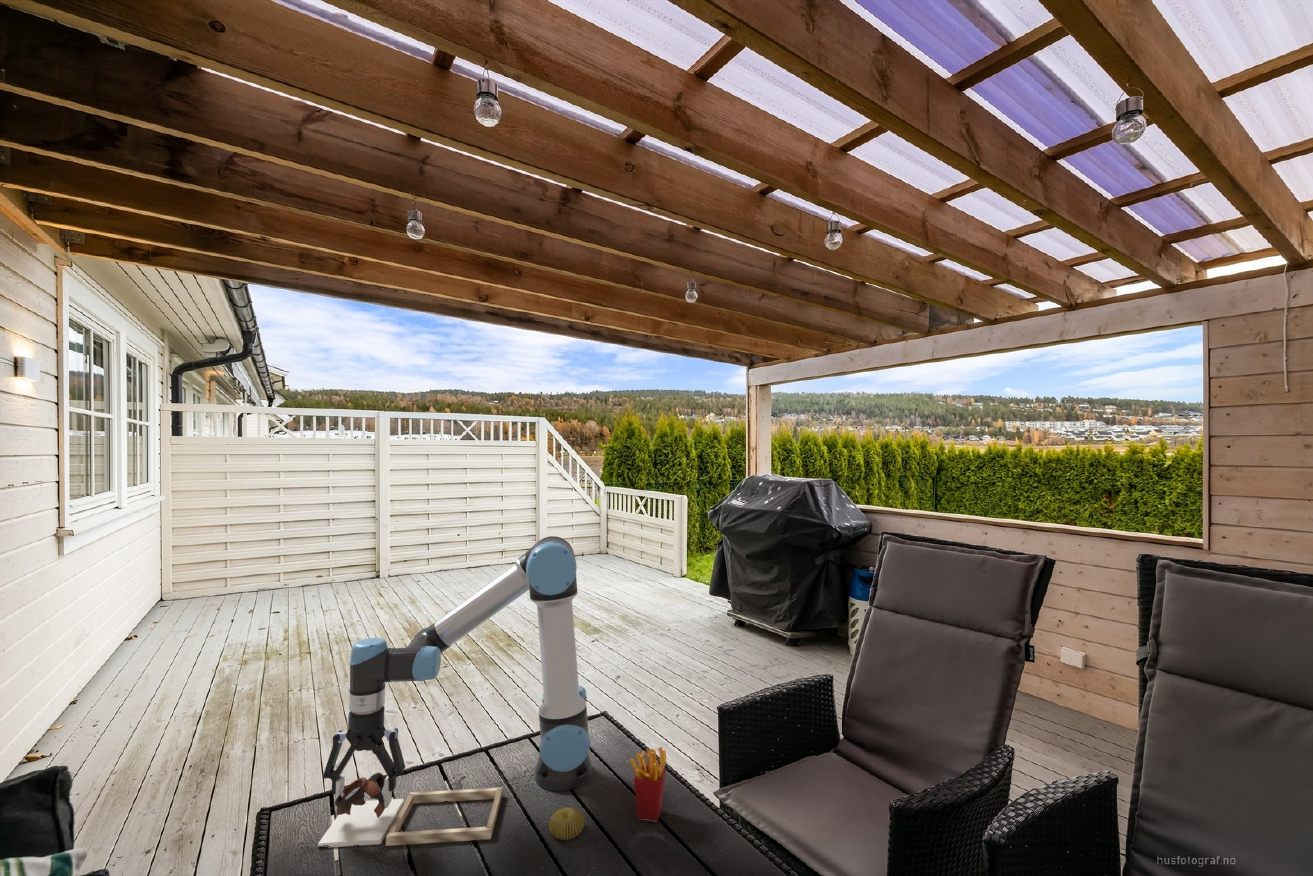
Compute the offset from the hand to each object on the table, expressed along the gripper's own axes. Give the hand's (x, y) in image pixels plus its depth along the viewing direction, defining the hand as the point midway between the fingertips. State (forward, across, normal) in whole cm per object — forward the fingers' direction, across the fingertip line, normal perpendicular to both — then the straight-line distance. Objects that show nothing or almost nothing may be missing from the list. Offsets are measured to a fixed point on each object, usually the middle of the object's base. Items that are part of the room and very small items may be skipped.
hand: (363, 806), depth 131 cm
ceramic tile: (+4, 0, 0) cm, 4 cm away
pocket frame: (+4, +19, 0) cm, 20 cm away
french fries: (+4, +66, -2) cm, 66 cm away
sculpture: (+4, +47, -7) cm, 48 cm away
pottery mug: (+1, 0, -1) cm, 1 cm away
